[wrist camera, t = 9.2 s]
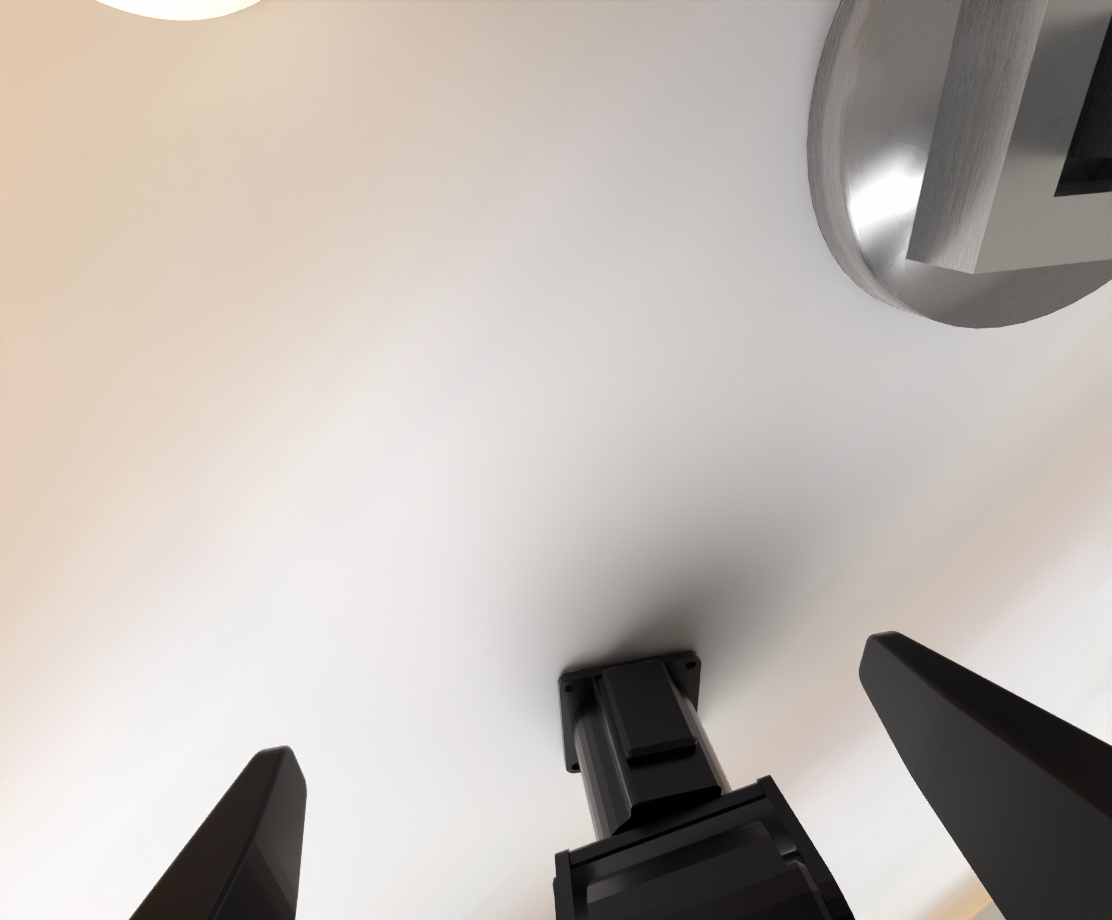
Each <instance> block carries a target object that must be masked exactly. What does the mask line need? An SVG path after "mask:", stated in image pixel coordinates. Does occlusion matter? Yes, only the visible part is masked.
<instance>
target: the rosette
mask: <svg viewBox="0 0 1112 920" xmlns="http://www.w3.org/2000/svg"><path fill="white" fill-rule="evenodd" d="M1111 15H1112V0H842V1H841V3H840V5H839V8H838V11H837V13H836V16H835V18H834V21H833V24H832V26H831V29H830V31H829V34H828V37H827V39H826V43H825V46H824V50H823V53H822V57H821V60H820V64H819V68H818V71H817V75H816V79H815V85H814V91H813V96H812V102H811V107H810V115H809V128H808V142H807V151H808V177H809V183H810V190H811V196H812V203H813V207H814V210H815V213H816V217H817V220H818V224H819V227H820V230H821V232H822V234H823V237H824V239H825V241H826V243H827V245H828V247H829V250H830V252H831V253H832V255H833V256H834V258H835V259H836V261H837V262H838V264H839V265H840V267H841V268H842V270H843V271H844V272H845V273H846V274H847V275H848V276H849V277H850V278H851V279H852V280H853V281H854V282H855V283H856V284H857V285H858V286H859V287H860V288H862V289H863V290H864V291H866V292H867V293H868V294H870V295H871V296H873V297H874V298H876V299H878V300H880V301H882V302H884V303H886V304H889V305H891V306H893V307H896V308H899V309H902V310H905V311H908V312H911V313H914V314H917V315H920V316H923V317H926V318H929V319H932V320H935V321H938V322H942V323H945V324H949V325H952V326H958V327H967V328H995V327H1004V326H1009V325H1014V324H1019V323H1024V322H1027V321H1030V320H1033V319H1036V318H1039V317H1042V316H1046V315H1048V314H1050V313H1053V312H1055V311H1057V310H1059V309H1062V308H1064V307H1066V306H1068V305H1070V304H1072V303H1074V302H1076V301H1078V300H1079V299H1081V298H1083V297H1085V296H1086V295H1088V294H1090V293H1092V292H1093V291H1095V290H1097V289H1098V288H1100V287H1101V286H1103V285H1104V284H1105V283H1107V282H1108V281H1110V280H1111V279H1112V158H1066V156H1067V153H1068V150H1069V147H1070V144H1071V141H1072V137H1073V134H1074V131H1075V128H1076V125H1077V122H1078V119H1079V116H1080V112H1081V109H1082V106H1083V103H1084V100H1085V97H1086V94H1087V90H1088V87H1089V84H1090V81H1091V78H1092V75H1093V72H1094V69H1095V65H1096V62H1097V59H1098V56H1099V53H1100V50H1101V47H1102V43H1103V40H1104V37H1105V34H1106V31H1107V28H1108V25H1109V22H1110V18H1111Z"/></svg>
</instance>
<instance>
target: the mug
mask: <svg viewBox="0 0 1112 920" xmlns="http://www.w3.org/2000/svg"><path fill="white" fill-rule="evenodd" d="M97 1H99V2H101V3H104V4H106V5H109V6H112V7H114V8H117V9H120V10H123V11H127V12H130V13H134V14H138V15H142V16H147V17H153V18H159V19H168V20H201V19H209V18H215V17H220V16H224V15H228V14H231V13H234V12H237V11H240V10H242V9H244V8H247V7H249V6H251V5H253V4H255V3H257V2H258V1H260V0H97Z"/></svg>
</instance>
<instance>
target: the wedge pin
mask: <svg viewBox="0 0 1112 920" xmlns="http://www.w3.org/2000/svg"><path fill="white" fill-rule="evenodd" d="M1066 158H1112V15H1111V18H1110V22H1109V25H1108V28H1107V31H1106V34H1105V37H1104V40H1103V43H1102V47H1101V50H1100V53H1099V56H1098V59H1097V62H1096V65H1095V69H1094V72H1093V75H1092V78H1091V81H1090V84H1089V87H1088V90H1087V94H1086V97H1085V100H1084V103H1083V106H1082V109H1081V112H1080V116H1079V119H1078V122H1077V125H1076V128H1075V131H1074V134H1073V137H1072V141H1071V144H1070V147H1069V150H1068V153H1067V156H1066Z"/></svg>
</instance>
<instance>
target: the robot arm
mask: <svg viewBox="0 0 1112 920" xmlns="http://www.w3.org/2000/svg"><path fill="white" fill-rule="evenodd" d="M700 671H701V660H700V658H699V656H698V655H697V653H696V652H695V651H683V652H678V653H673V654H667V655H662V656H657V657H651V658H646V659H641V660H635V661H630V662H625V663H619V664H614V665H609V666H603V667H598V668H593V669H587V670H582V671H577V672H571V673H567V674H564V675H563V676H561V677H560V678H559V680H558V691H559V703H560V714H561V726H562V737H563V749H564V760H565V766H566V770H567V771H568V772H569V773H579V772H581V774H582V778H583V783H584V787H585V792H586V796H587V800H588V805H589V809H590V813H591V818H592V822H593V827H594V831H595V835H596V840H597V841H596V842H594V843H591V844H588V845H586V846H583V847H580V848H578V849H575V850H572V851H569V849H567V850H564V851H561V852H559V853H556V854H555V865H556V877H555V878H554V880H553V890H554V897H555V910H556V920H855V918H854V916H853V914H852V912H851V910H850V908H849V906H848V904H847V902H846V900H845V898H844V896H843V894H842V892H841V890H840V888H839V886H838V885H837V883H836V881H835V879H834V877H833V876H832V874H831V872H830V871H829V869H828V867H827V865H826V864H825V862H824V861H823V859H822V857H821V856H820V854H819V853H818V851H817V849H816V848H815V846H814V845H813V843H812V841H811V840H810V838H809V837H808V835H807V833H806V832H805V830H804V829H803V827H802V825H801V824H800V822H799V821H798V819H797V817H796V816H795V814H794V812H793V811H792V809H791V808H790V806H789V804H788V803H787V801H786V800H785V798H784V796H783V795H782V793H781V792H780V790H779V788H778V787H777V785H776V784H775V782H774V780H773V779H772V777H771V776H770V775H767V776H764V777H762V778H759V779H756V780H757V782H756V783H753V784H751V785H748V786H745V787H743V788H740V789H737V790H734V791H732V789H731V787H730V785H729V783H728V781H727V778H726V776H725V774H724V772H723V770H722V768H721V765H720V763H719V761H718V759H717V757H716V754H715V752H714V750H713V748H712V746H711V744H710V741H709V739H708V737H707V735H706V733H705V730H704V728H703V726H702V724H701V722H700V720H699V717H698V715H697V708H698V695H699V683H700ZM859 677H860V681H861V683H862V686H863V688H864V690H865V691H866V693H867V695H868V697H869V699H870V701H871V703H872V704H873V706H874V708H875V710H876V712H877V714H878V716H879V717H880V719H881V721H882V723H883V725H884V727H885V729H886V730H887V732H888V734H889V736H890V738H891V740H892V742H893V743H894V745H895V747H896V749H897V751H898V753H899V755H900V756H901V758H902V760H903V762H904V764H905V765H906V767H907V769H908V771H909V772H910V774H911V776H912V777H913V779H914V781H915V782H916V784H917V785H918V787H919V789H920V790H921V792H922V793H923V795H924V796H925V798H926V799H927V801H928V802H929V804H930V805H931V807H932V808H933V810H934V811H935V813H936V814H937V816H938V817H939V819H940V820H941V822H942V824H943V825H944V827H945V828H946V830H947V831H948V833H949V834H950V836H951V837H952V839H953V840H954V842H955V843H956V845H957V846H958V848H959V849H960V851H961V852H962V854H963V855H964V857H965V858H966V860H967V861H968V863H969V864H970V866H971V867H972V869H973V870H974V872H975V873H976V875H977V877H978V878H979V880H980V881H981V883H982V884H983V886H984V887H985V889H986V890H987V892H988V893H989V895H990V896H991V898H992V899H993V901H994V902H995V904H996V905H997V907H998V908H999V910H1000V911H1001V913H1002V914H1003V916H1004V917H1005V919H1006V920H1112V746H1111V745H1109V744H1108V743H1106V742H1104V741H1102V740H1100V739H1098V738H1096V737H1094V736H1093V735H1091V734H1089V733H1087V732H1085V731H1083V730H1081V729H1079V728H1078V727H1076V726H1074V725H1072V724H1070V723H1068V722H1066V721H1064V720H1062V719H1061V718H1059V717H1057V716H1055V715H1053V714H1051V713H1049V712H1047V711H1046V710H1044V709H1042V708H1040V707H1038V706H1036V705H1034V704H1032V703H1031V702H1029V701H1027V700H1025V699H1023V698H1021V697H1019V696H1017V695H1016V694H1014V693H1012V692H1010V691H1008V690H1006V689H1004V688H1002V687H1001V686H999V685H997V684H995V683H993V682H991V681H989V680H987V679H986V678H984V677H982V676H980V675H978V674H976V673H974V672H972V671H970V670H969V669H967V668H965V667H963V666H961V665H959V664H957V663H955V662H954V661H952V660H950V659H948V658H946V657H944V656H942V655H940V654H939V653H937V652H935V651H933V650H931V649H929V648H927V647H925V646H924V645H922V644H920V643H918V642H916V641H914V640H912V639H910V638H909V637H907V636H905V635H903V634H901V633H899V632H895V631H887V632H882V633H877V634H872V635H870V636H869V637H868V639H867V641H866V645H865V648H864V652H863V656H862V659H861V663H860V667H859ZM569 684H570V685H569ZM306 798H307V788H306V781H305V778H304V775H303V773H302V771H301V769H300V766H299V764H298V762H297V759H296V757H295V755H294V752H293V751H292V749H291V748H290V747H289V746H279V747H274V748H269V749H264V750H261V751H259V752H258V753H257V754H255V755H254V757H253V758H252V759H251V760H250V762H249V763H248V764H247V766H246V767H245V768H244V769H243V771H242V772H241V773H240V775H239V776H238V777H237V779H236V780H235V781H234V783H233V784H232V785H231V787H230V788H229V789H228V790H227V792H226V793H225V794H224V796H223V797H222V798H221V800H220V801H219V802H218V804H217V805H216V806H215V807H214V809H213V810H212V811H211V813H210V814H209V815H208V817H207V818H206V819H205V821H204V822H203V823H202V825H201V826H200V827H199V828H198V830H197V831H196V832H195V834H194V835H193V836H192V838H191V839H190V840H189V842H188V843H187V844H186V846H185V847H184V848H183V849H182V851H181V852H180V853H179V855H178V856H177V857H176V859H175V860H174V861H173V863H172V864H171V865H170V866H169V868H168V869H167V870H166V872H165V873H164V874H163V876H162V877H161V878H160V880H159V881H158V882H157V884H156V885H155V886H154V887H153V889H152V890H151V891H150V893H149V894H148V895H147V897H146V898H145V899H144V901H143V902H142V903H141V904H140V906H139V907H138V908H137V910H136V911H135V912H134V914H133V915H132V916H131V918H130V919H129V920H295V916H296V908H297V899H298V888H299V877H300V866H301V854H302V843H303V832H304V821H305V810H306Z"/></svg>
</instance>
